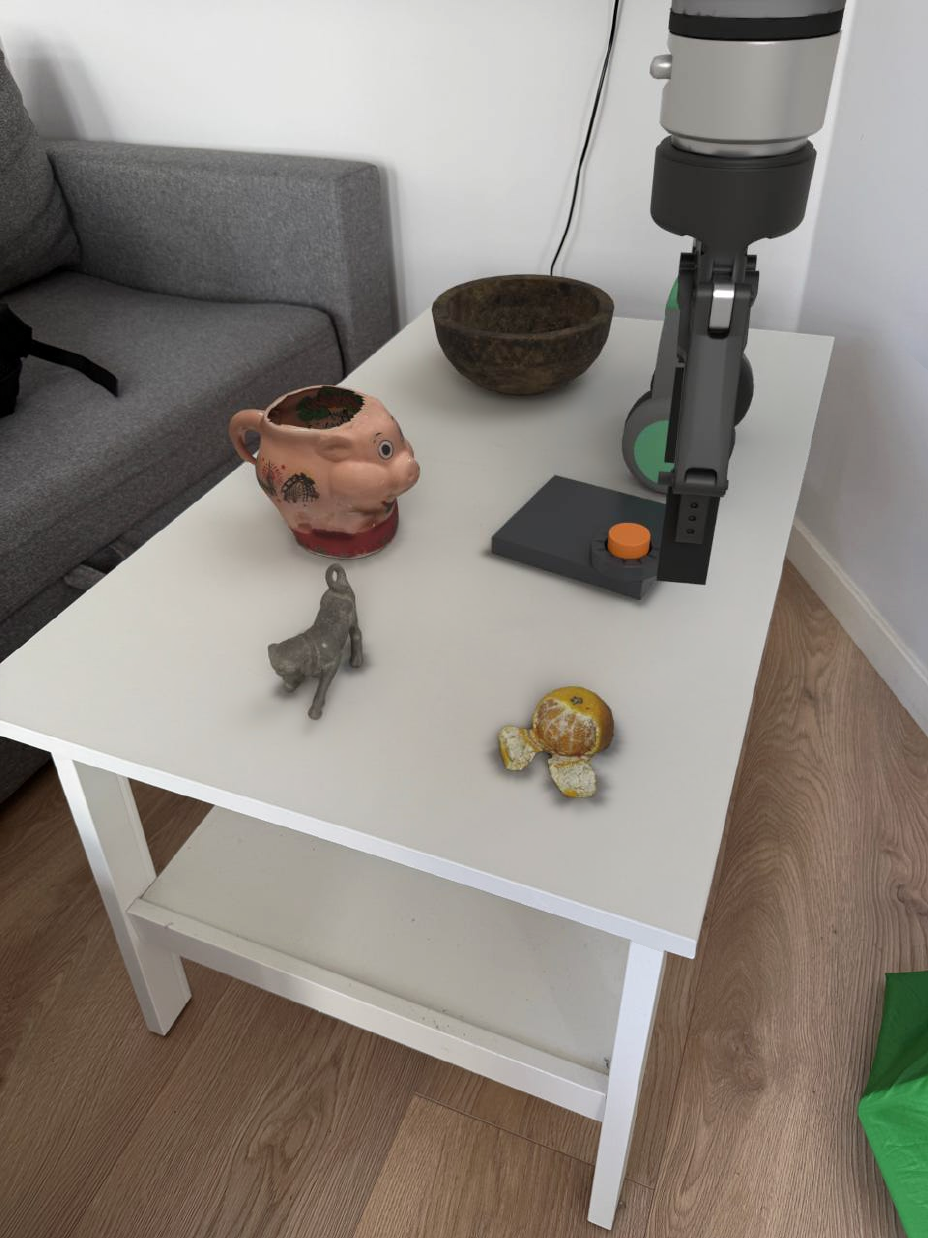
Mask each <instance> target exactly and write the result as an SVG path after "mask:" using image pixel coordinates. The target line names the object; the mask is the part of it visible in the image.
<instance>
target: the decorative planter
mask: <svg viewBox="0 0 928 1238" xmlns="http://www.w3.org/2000/svg"><path fill="white" fill-rule="evenodd" d="M228 427H229V428H228V431H227V433H228V436H229V438H230V440H231V443H232V445H233V447H234V449H235V451H236V452H237V455H238V456H239V457H240V458H241V459H242V460H243V461H244V462H246V463H250V464H252V465H253V466H254V471H255V476H256V480H257V481H258V485H259V486H260V488H261V490H262V491H263V492H264V494H265V495H266V497H267V498H268V499H269V500H270V501H271V502H272V503H273V505H274V506H275V508H276V509H277V510H278V512H279V514H280V515H281V517H282V518H283V520H284V521H285V523H286V526H288V528H289V530H290V531H291V532H292V534H293V536H294V538H295V541H296V543H297V544H298V545H299V546H301V547H302V548H303V549H305V550H307V551H309V552H311V553H313V554H316V555H318V556H322V557H329V558H335V559H341V560H342V559H344V560H352V559H358V558H359V559H360V558H364V557H367V556H369V555H372V554H376V553H377V552H378V551H380V550H382V549H383V548H384V547H386V546H387V545H389V544H390V543H391V542H392V540H394V537H395V536H396V534H397V532H398V529H399V521H400V513H399V511H400V510H399V504H398V503H399V502H398V497H400V496H402V495H403V494H405V493H406V492H408V491H409V490H411V489H412V488H413V487H414V486H415V485H416V484H417V483H418V481H419V478H420V475H421V466H420V464H419V462H418V461H417V460H416V459H415V452H414V449H413V446H412V445H411V443H410V442H409V440H408V439H407V438H406V437H405V435H404V433H403V431H402V428H401V426H400V424H399V422H398V420H397V419H396V418H395V417H394V416H393V415H392V414H391V413H390V411H389V410H388V409H387V408H386V406H385V405H384V404H383V402H382V401H381V400H379V398H377V397H375V396H372V395H370V394H366V393H364V392H361V391H358V390H355V389H353V388H349V387H345V386H340V385H331V384H330V385H329V384H317V385H311V386H306V387H302V388H299V389H295V390H293V391H290V392H287V393H286V394H283V395H282V396H279V397H278V398H277V399H275V400H274V401H273V402H271V404H270V405H268V407H267V408H266V409H265V410H262V409H255V408H250V409H242V410H240V411H238V412H237V413H235V414H233V416H232V417H231V419H230V423H229V426H228ZM250 430H251V431H255V432H256V433H257V434H259V436H260V445H259V448H258V452H257V455H256V457H255V456H254V455H253V454H252V453H251V451H250V449H249V448H248V446H247V444H246V432H247V431H250Z"/></svg>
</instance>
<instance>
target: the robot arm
mask: <svg viewBox="0 0 928 1238" xmlns="http://www.w3.org/2000/svg"><path fill="white" fill-rule="evenodd" d="M846 4H847V0H671V7H670V8H669V17H668V28H667V29H668V35H667V40H666V46H667V49H668V51H669V54H668V53H666V54H660V55H655V56H653V58H652V60H651V62H650V66H649V75H650V76H651V77H652V79H655V80H667V82H666V83H665V84H664V86H663V88H662V91H661V99H660V111H659V124H660V126H661V128H662V129H664V131H665V132H666V133H667V134H669V135H667V136H665V137H664V138H663V139H662V140H661V141H660V143H659V144H658V145H657V146H656V147H655V152H654V163H653V174H652V184H651V195H650V204H649V205H650V206H649V213H650V217H651V219H652V221H653V222H654V223H655V225H656V226H657V227H659V228H660V229H662V230H663V231H665V232H667V233H669V234H672V235H676V236H679V237H685V236H688V237H691V238H693V240H692V248H691V252H687V251H686V252H685V251H684V252H681V251H680V253H679V254H680V256H679V261H678V270H677V271H678V273H677V277H678V281H677V282H678V290H677V303H678V305H679V309H680V318H679V328H678V337H677V347H676V348H677V356H676V357H678V363H684V364H685V365H684V367H675V375H674V384H673V392H672V400H671V408H670V416H669V425H668V433H667V441H666V449H665V457H664V463H674V468H673V470H672V469H671V472H662V471H659V474H658V483H657V485H663V486H668V490H667V494H666V500H665V504H666V506H665V514H664V522H663V530H662V537H661V545H660V553H659V561H658V569H657V578H656V579H655V581H657V582H665V583H666V582H667V583H677V584H686V585H687V584H688V585H696V586H697V585H698V586H706V585H707V579H708V574H709V573H708V572H709V567H710V560H711V555H712V549H713V543H714V537H715V531H716V526H717V521H718V520H717V519H718V514H719V510H720V509H719V508H720V501H721V498H724V497H725V495H726V494H727V491H728V489H729V483H730V482H729V481H730V480H729V479H728V471H729V464H730V463H729V462H730V459H729V456H730V448H731V440H732V432H733V424H734V416H735V408H736V400H737V392H738V384H739V376H740V368H741V360H742V355H743V353H745V351H746V348H747V345H748V339H749V329H750V319H751V310H752V308H753V306H754V304H755V303H756V302H755V301H756V298H757V296H758V292H759V283H760V270H756V269H757V262H758V254H748V251H749V246H750V245H752V244H754V243H755V242H757V241H760V240H763V239H767V240H771V239H772V240H773V239H776V238H780V237H783V236H786V235H788V234H790V233H792V232H793V231H795V230H796V229H797V228H798V227H799V226H800V225H801V224H802V222H803V221H804V219H805V216H806V211H807V206H808V201H809V197H810V196H809V195H810V191H811V187H812V186H811V185H812V182H813V181H812V180H813V175H814V170H815V165H816V159H817V155H818V152H817V149H815V147H814V144H813V142H812V141H811V140H809V139H808V138H809V137H811V136H813V135H816V134H817V133H818V132H819V131H821V130H822V128H823V126H824V125H825V120H826V114H827V110H828V104H829V99H830V95H831V90H832V89H831V88H832V85H833V79H834V74H835V69H836V63H837V60H838V59H837V58H838V54H839V48H840V45H841V40H842V39H841V38H842V33H843V30H842V25H843V19H844V13H845V9H846Z"/></svg>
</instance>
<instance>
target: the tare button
mask: <svg viewBox="0 0 928 1238" xmlns="http://www.w3.org/2000/svg"><path fill="white" fill-rule="evenodd" d="M649 543H650V532H649V531H648V530H647V529H646V528H645V527H643V526H641V525H639V524H635V523H621V524H617V525H615V526H613V527H612V528H611V529H610V530H609V534H608V550H609V552H610V553H611V554H612V555H614V556H616V557H620V558H623V559H638V558H641V557H643V556H645V555H646V554H647V553H648V551H649Z"/></svg>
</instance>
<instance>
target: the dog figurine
mask: <svg viewBox="0 0 928 1238" xmlns="http://www.w3.org/2000/svg"><path fill="white" fill-rule="evenodd" d="M334 572H335V573H336V579H334V576H333V575H334ZM347 577H348V576H347V573H346V570H345V568H344V567H343V566H341V564H339V563H336V562H335V563H332V564H330V565H329V566H328V567H327V568H326V570H325V575H324V579H325V582H326V586H327V589H326V590H325V591H324V592H323V594H322V596H321V597H320V600H319V610H318V612H317V615H316V616H315V620H314V621H313V624H312V625H311V626H310V627H308V628H307V629H306V630H305V631H304V632H300V633H298V634H297V635H295V636H293V637H289V638H287V639H286V640H283V641H281V642H279V643H271V644H269V645H268V646H267V652H268V659H269V663H270V666H271V668H272V669H273V670H274V672H275V674H276V675H277V676H279V677H281V678H282V680H283V681H284V682H285V683H284V685H283V689H284V690H285V691H286V692H289V693H290V692H293V691H295V690H296V689H297V688H298V687H299V686H300V685H301V683H302V681H304V679H305V678H306V677H310V678H311V677H313V678H314V677H317V676H319V675H320V677H319V681H318V685H317V689H316V691H315V694H314V696H313V699H312V704H311V706H310V707H309V709H308V711H307V716H308V718H310V720H314V721H319V720H320V719H321V718H322V716H323V708H324V706H325V705H326V695H327V692H328V690H329V687H330V685H331V684H332V680H333V679H334V678H335V676H336V674H337V672H338V670H339V667H340V665H341V662H342V659H343V653H342V652H343V651H342V650H343V649H344V647H345V645H346V644H347V641H348V638H349V640H350V658H349V664H350V665H349V666H351V667H354V668H359V667H361V666H362V665H363V664H364V660H363V658H362V653H363V645H362V641H363V637H362V631H361V628H360V627H359V620H358V619H359V618H358V614H357V605H356V595H355V592H354V590H353V589H352V586H351V585H350V583H349V581H348V578H347Z"/></svg>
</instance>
